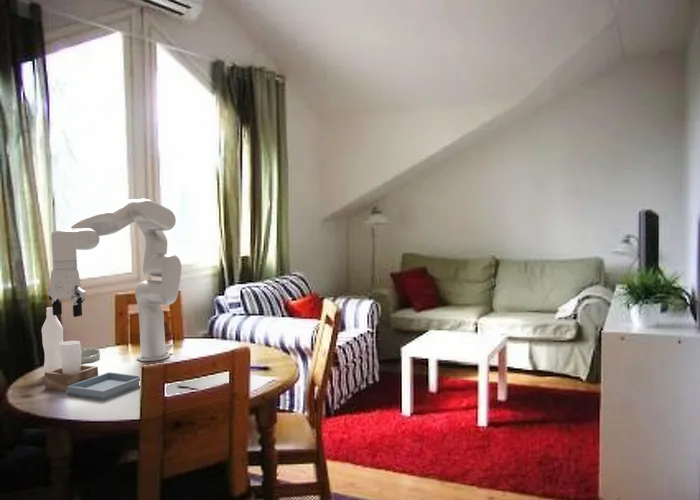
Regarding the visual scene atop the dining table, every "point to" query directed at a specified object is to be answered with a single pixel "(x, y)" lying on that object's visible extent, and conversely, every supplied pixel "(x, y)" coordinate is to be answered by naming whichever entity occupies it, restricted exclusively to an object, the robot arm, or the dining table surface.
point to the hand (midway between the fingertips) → (67, 315)
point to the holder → (68, 377)
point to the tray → (104, 386)
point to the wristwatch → (87, 353)
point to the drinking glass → (70, 356)
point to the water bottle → (52, 341)
